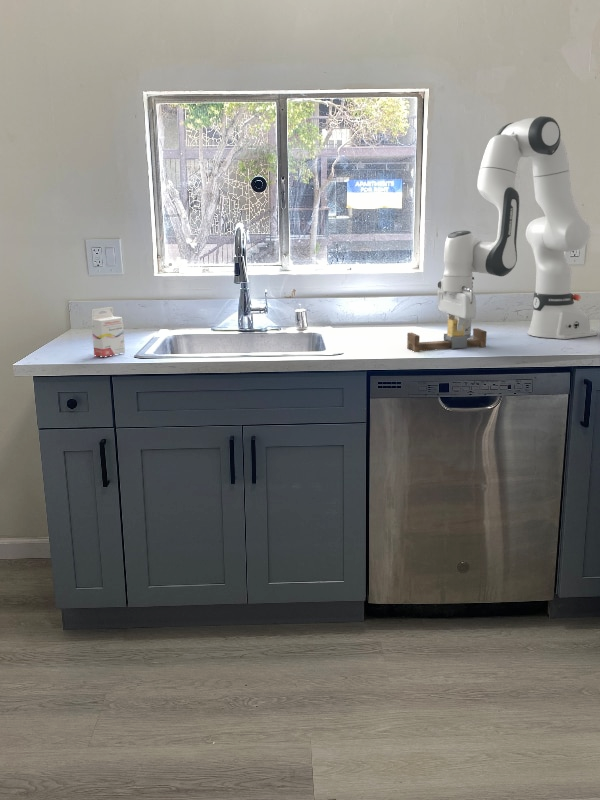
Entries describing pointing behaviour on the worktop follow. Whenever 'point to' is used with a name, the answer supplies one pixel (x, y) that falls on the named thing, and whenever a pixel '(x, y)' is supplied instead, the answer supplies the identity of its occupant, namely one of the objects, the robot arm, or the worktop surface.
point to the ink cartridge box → (107, 332)
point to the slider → (455, 335)
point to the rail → (445, 342)
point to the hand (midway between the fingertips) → (455, 329)
